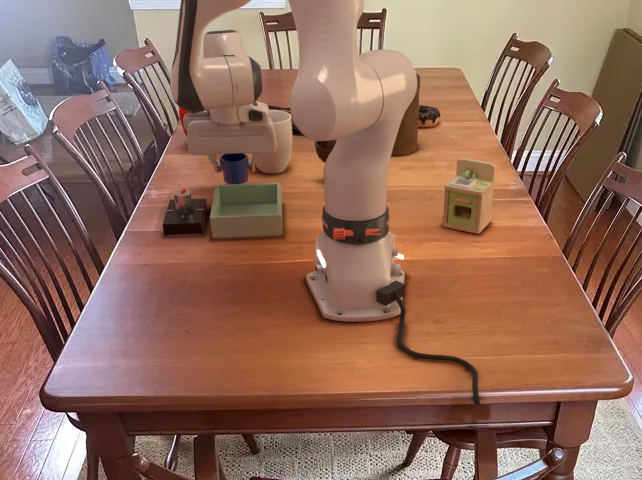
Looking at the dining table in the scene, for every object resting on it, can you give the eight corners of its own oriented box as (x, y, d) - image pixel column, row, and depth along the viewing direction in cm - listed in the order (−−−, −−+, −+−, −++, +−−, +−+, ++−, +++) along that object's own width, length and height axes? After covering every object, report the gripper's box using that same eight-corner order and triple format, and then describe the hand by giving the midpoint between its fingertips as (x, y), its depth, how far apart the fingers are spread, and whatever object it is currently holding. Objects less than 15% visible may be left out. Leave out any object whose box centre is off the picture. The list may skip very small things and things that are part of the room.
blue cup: (249, 184, 163) (247, 161, 160) (221, 185, 163) (218, 162, 160) (250, 174, 168) (248, 151, 165) (223, 175, 168) (220, 152, 165)
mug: (239, 181, 173) (234, 126, 165) (232, 165, 181) (226, 113, 173) (298, 174, 176) (296, 120, 168) (288, 159, 184) (285, 107, 176)
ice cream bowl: (355, 192, 167) (355, 127, 158) (310, 188, 169) (307, 124, 160) (363, 175, 175) (364, 113, 166) (320, 172, 177) (318, 111, 168)
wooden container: (406, 136, 199) (410, 51, 185) (424, 153, 188) (430, 65, 174) (356, 140, 196) (356, 55, 182) (371, 158, 185) (372, 69, 171)
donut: (438, 116, 213) (439, 103, 210) (441, 129, 204) (442, 115, 201) (401, 116, 213) (402, 103, 211) (403, 129, 204) (404, 115, 201)
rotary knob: (190, 214, 150) (187, 195, 147) (174, 213, 150) (170, 194, 148) (195, 207, 153) (192, 188, 150) (179, 206, 153) (176, 187, 150)
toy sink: (440, 227, 152) (445, 167, 144) (453, 215, 157) (458, 156, 149) (477, 235, 148) (484, 175, 140) (489, 223, 153) (497, 163, 145)
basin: (282, 237, 148) (281, 214, 145) (212, 240, 147) (209, 217, 144) (281, 204, 162) (280, 182, 159) (218, 206, 161) (215, 184, 158)
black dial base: (203, 236, 149) (201, 222, 147) (164, 237, 148) (162, 223, 146) (207, 210, 159) (205, 197, 157) (171, 212, 158) (169, 198, 156)
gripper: (180, 115, 153) (189, 177, 161) (274, 113, 154) (278, 174, 163) (183, 106, 157) (191, 167, 166) (274, 104, 159) (278, 165, 167)
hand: (235, 171), depth 164 cm, fingers closed on blue cup, 6 cm apart
